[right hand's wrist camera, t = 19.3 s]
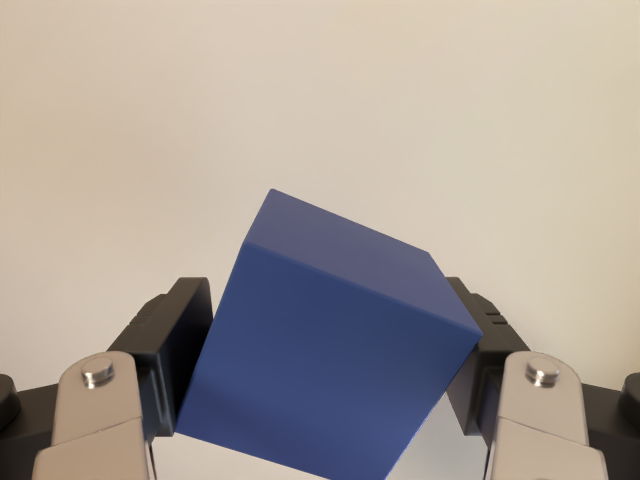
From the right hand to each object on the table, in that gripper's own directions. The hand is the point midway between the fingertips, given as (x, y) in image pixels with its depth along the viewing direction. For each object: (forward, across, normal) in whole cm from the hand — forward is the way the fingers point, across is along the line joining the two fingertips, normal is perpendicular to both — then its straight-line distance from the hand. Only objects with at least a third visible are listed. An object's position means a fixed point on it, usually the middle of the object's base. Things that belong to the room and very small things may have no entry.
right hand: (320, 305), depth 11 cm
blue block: (+1, 0, 0) cm, 1 cm away
